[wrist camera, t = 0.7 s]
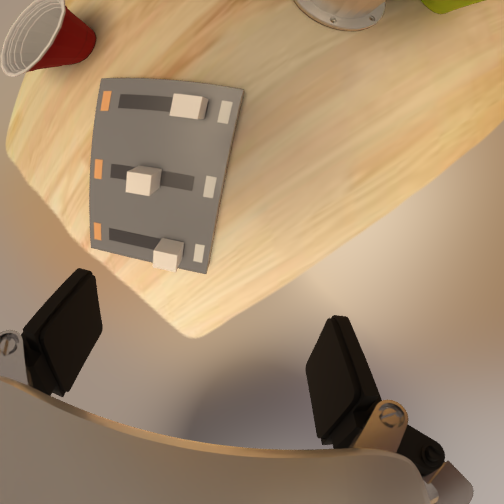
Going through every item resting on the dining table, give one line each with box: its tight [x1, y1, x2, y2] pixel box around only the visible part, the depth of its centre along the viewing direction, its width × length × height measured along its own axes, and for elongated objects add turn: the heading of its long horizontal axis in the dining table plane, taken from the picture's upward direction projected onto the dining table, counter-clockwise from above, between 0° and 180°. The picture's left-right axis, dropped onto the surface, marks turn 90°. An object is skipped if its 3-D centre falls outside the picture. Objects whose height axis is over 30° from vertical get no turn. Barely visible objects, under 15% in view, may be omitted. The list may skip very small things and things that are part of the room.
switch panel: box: [89, 78, 244, 274], centre depth 32 cm, size 24×18×3 cm
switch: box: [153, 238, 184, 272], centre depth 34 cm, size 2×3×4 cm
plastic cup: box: [1, 0, 96, 77], centre depth 18 cm, size 11×11×12 cm
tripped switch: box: [126, 166, 162, 196], centre depth 29 cm, size 2×3×4 cm
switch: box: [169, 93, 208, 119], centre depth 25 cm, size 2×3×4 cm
